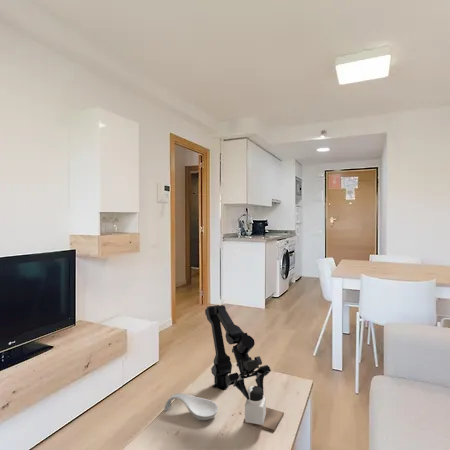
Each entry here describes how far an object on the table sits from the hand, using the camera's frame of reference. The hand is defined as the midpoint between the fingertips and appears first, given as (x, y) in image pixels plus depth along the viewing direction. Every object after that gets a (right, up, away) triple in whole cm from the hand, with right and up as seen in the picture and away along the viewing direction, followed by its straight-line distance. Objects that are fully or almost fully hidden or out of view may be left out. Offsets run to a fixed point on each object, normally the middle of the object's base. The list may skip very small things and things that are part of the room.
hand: (255, 397), depth 125 cm
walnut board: (+4, -12, +6) cm, 14 cm away
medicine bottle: (0, -9, +1) cm, 9 cm away
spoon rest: (-27, -13, +10) cm, 31 cm away
